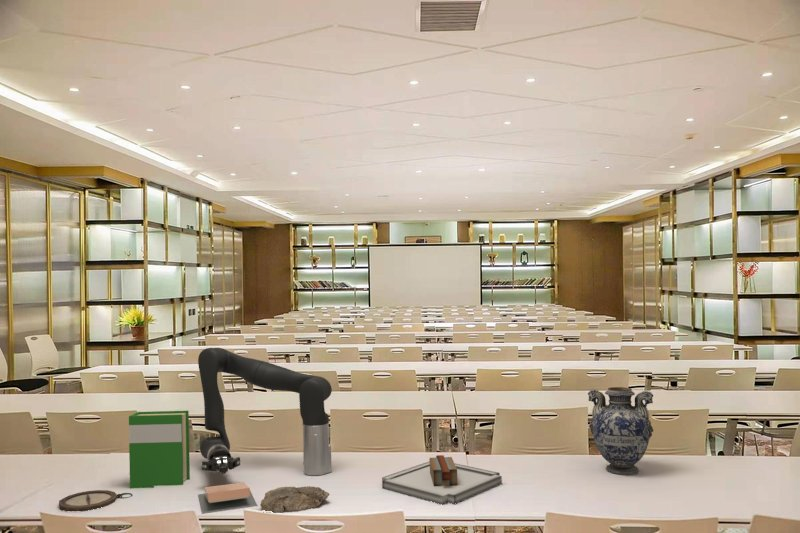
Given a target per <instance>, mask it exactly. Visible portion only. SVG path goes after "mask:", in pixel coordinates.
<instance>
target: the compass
mask: <svg viewBox="0 0 800 533" xmlns="http://www.w3.org/2000/svg"><path fill="white" fill-rule="evenodd" d="M125 495H126V496H127V495H129V496H127V497H126V496H125ZM123 496H124V497H123ZM132 497H133V493H131V492H122V493H118V494H117V493H116V492H115V491H112V490H107V489H105V490H103V489H96V490H95V489H94V490H86V491H81V492H76V493H73V494H69V495H67V496H65V497H63V498H61V499H60V500H59V501H58V507H60V508H59V509H60V510H61V511H63V510H66V511H65V512H67V511H81V512H89V511H93V509H94V510H98V509H97V508H99V509H101V507H102V508H104V507H107V506H110V505H112V504H113V503H115V502H116V500H117V499H127V498H132ZM88 510H89V511H88Z"/></svg>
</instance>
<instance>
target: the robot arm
mask: <svg viewBox="0 0 800 533" xmlns="http://www.w3.org/2000/svg"><path fill="white" fill-rule="evenodd" d="M197 365H198V370H199V376H200V381H201V382H200V383H201V388H202V394H203V403H204V405H203V407H204V428H205V430H207V431H211V432H212V431H213V432H217V433H218V434H219V436H208V437H205V438H203V439H202V440H201V441H200V444H199V451H200V452H199V453H200V454H201V456H202V457H203V458H204V459H206V460H207V461H204V460H203V461H201V469H202V471H207V472H213V473H214V472H219V473H220V475H221V474H222V475H223V474H227V473H228V472H229V470H234V469H236V468H237V467H240V466H241V457H240V456H239V457H236V458H234V457H233V456H232V455H231V453H230V449H231V443H230V441H229V437H228V434H227V431H226V424H225V423H226V422H225V407H224V402H223V398H222V395H221V392H220V389H219V384H218V373H225V374H230V375H235V376H238V377H240V378H241V379H243V380H244V381H246V382H247V383H249V384H251V385H253V386H256V387H259V388H262V389H266V390H269V391H270V390H272V391H279V392H281V391H282V392H293V393H296V394H298V398H299V400H298V401H299V414H300V417H301V419H302V448H303V449H302V450H303V451H302V452H303V454H302V455H303V456H302V457H303V474H305V475H307V476H321V475H327V474H329V473H332V446H331V444H330V418H329V414H328V413H326V410H325V401H326V400H328V399H329V397H330V396H331V395H332V388H333V387H332V386H331V383H330V382H329V380H327V379H326V378H325V377H323V376H320V375H319V376H318V375H313V374H312V375H311V374H307V373H302V372H299V371H295V370H292V369H289V368H287V367H284V366H280V365H277V364H274V363H271V362H268V361H264V360H260V359H256V358H251V357H245V356H242V355H239V354H237V353H234V352H231V351H229V350H228V349H225V348H221V347H207V348H204V349H203V350H202V351H201V352H200V353H199V355H198V359H197Z"/></svg>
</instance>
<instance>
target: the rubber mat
mask: <svg viewBox="0 0 800 533" xmlns="http://www.w3.org/2000/svg"><path fill="white" fill-rule="evenodd" d="M197 497H198V501H199V507H200V512H201V514H202V515H204V514H210V513H211V514H212V513H217V512H225V511H232V510H238V509H245V508H246V509H247V508H253V507H258V504H257V502H256V499H255V497H254V496H253V493H252V491H251V490H250V497H248V498H242V499H235V500H228V501H220V502H213V503H210V502H208V500H207V499H206V497H205V493H201V494H200V493H199V494H197Z"/></svg>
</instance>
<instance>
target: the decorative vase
mask: <svg viewBox="0 0 800 533" xmlns="http://www.w3.org/2000/svg"><path fill="white" fill-rule="evenodd" d="M587 395H588V399H587V400H588V402H592V403H593V404H594V405H593V408H592V411H591V414H592V417H591V421H590V422H589V425H588V427H589V429H590V433H591V435H593V440H594V442H595V445H596V447H597V450H598V452H599V453H600V455H601V456H602V458H603V459H604V460H606V462H608V463H609V464H607V465H606V466H605V467H606V468H605V470H606V471H607V472H609V473H611V474H613V475H614V474H615V475H625V476H631V475H637V474H638V473H640V470H639V468H638V467H637V466H636V464H637V463H638V462H640V461H641V459H642V458H643V457H644V455H645V453H646V451H647V449H648V446H649V443H650V438H651V437H652V436H653V433H654V429H653V426H652V422H651V420H649V419H650V414H649V413H650V412H649V410H648V408H647V407H648V405H649V404H653V403H654V401H653V397H654V394H653V393H652V391H649V390H643V391H640V392H639V393H637V394H636V393H635V392H634V391H633V390H632V388H630V387H624V386H623V387H621V386H619V387H618V386H613V387H608V388H607V390H606V391H604V394H603V392H601V391H599V390H598V389H592V390H591V389H589V392H588V393H587ZM605 395H607V396H608V403H609V404H607V402H606V396H605ZM633 396H635V397H634V405H632V402H633V401H632V397H633ZM643 401H644V402H643Z"/></svg>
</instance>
